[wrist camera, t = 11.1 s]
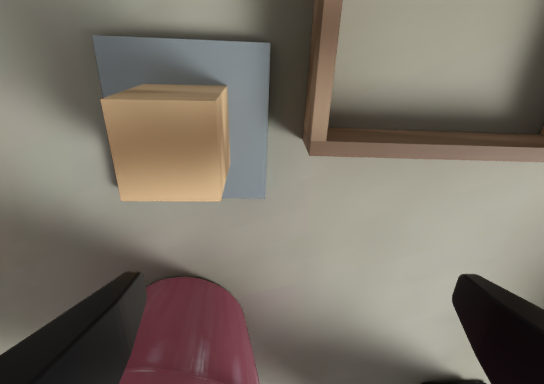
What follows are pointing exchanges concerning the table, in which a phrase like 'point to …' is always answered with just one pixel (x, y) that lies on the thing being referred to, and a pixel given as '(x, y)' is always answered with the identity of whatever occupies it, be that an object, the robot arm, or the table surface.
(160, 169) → the beech block
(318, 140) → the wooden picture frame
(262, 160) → the slate pad
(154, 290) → the plant pot
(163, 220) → the table surface
